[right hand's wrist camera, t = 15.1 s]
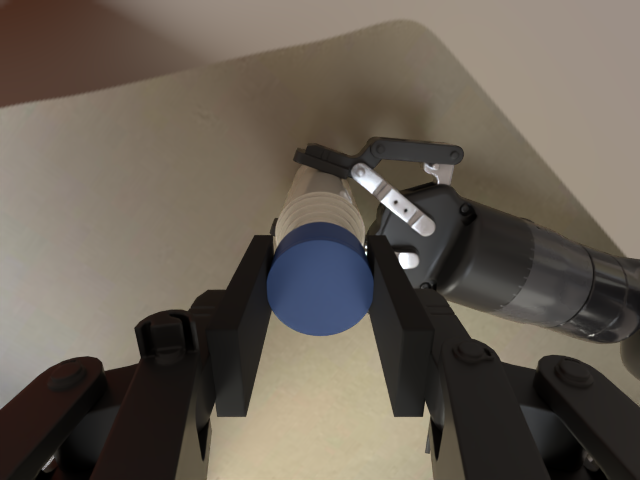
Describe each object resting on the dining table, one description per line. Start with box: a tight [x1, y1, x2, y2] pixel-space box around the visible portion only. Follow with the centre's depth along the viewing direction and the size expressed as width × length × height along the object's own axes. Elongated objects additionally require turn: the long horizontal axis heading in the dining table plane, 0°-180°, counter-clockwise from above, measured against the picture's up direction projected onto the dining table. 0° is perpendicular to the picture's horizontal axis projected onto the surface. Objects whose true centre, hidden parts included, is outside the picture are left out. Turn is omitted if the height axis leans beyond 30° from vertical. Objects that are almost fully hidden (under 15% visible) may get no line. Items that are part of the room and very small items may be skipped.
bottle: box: [275, 165, 365, 247], centre depth 22 cm, size 5×5×18 cm
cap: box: [266, 222, 374, 336], centre depth 14 cm, size 4×4×2 cm
